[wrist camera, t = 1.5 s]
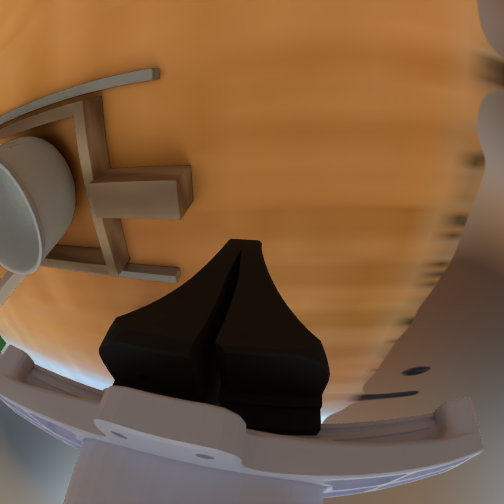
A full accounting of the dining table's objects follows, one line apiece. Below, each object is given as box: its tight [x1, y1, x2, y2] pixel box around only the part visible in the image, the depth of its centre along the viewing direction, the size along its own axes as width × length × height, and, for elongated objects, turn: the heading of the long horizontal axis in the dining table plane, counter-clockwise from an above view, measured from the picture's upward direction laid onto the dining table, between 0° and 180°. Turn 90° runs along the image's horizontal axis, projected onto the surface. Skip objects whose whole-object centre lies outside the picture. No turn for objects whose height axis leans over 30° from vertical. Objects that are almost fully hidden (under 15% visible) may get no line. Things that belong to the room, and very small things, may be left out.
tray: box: [0, 96, 194, 276], centre depth 20 cm, size 15×25×3 cm, turn 89°
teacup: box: [0, 136, 76, 275], centre depth 18 cm, size 14×11×8 cm
